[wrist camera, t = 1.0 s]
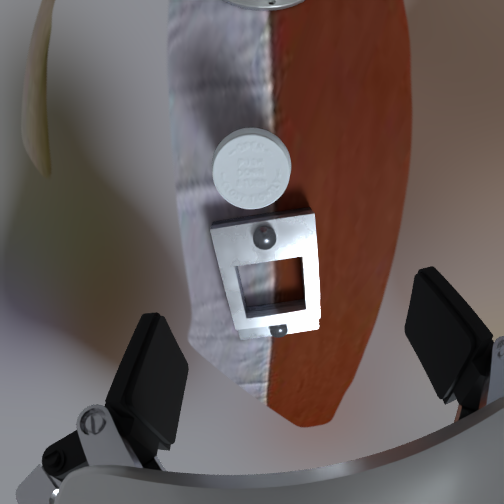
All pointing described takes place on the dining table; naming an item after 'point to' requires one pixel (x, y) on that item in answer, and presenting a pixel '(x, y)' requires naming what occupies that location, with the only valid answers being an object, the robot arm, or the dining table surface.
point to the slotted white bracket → (263, 250)
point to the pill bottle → (251, 168)
